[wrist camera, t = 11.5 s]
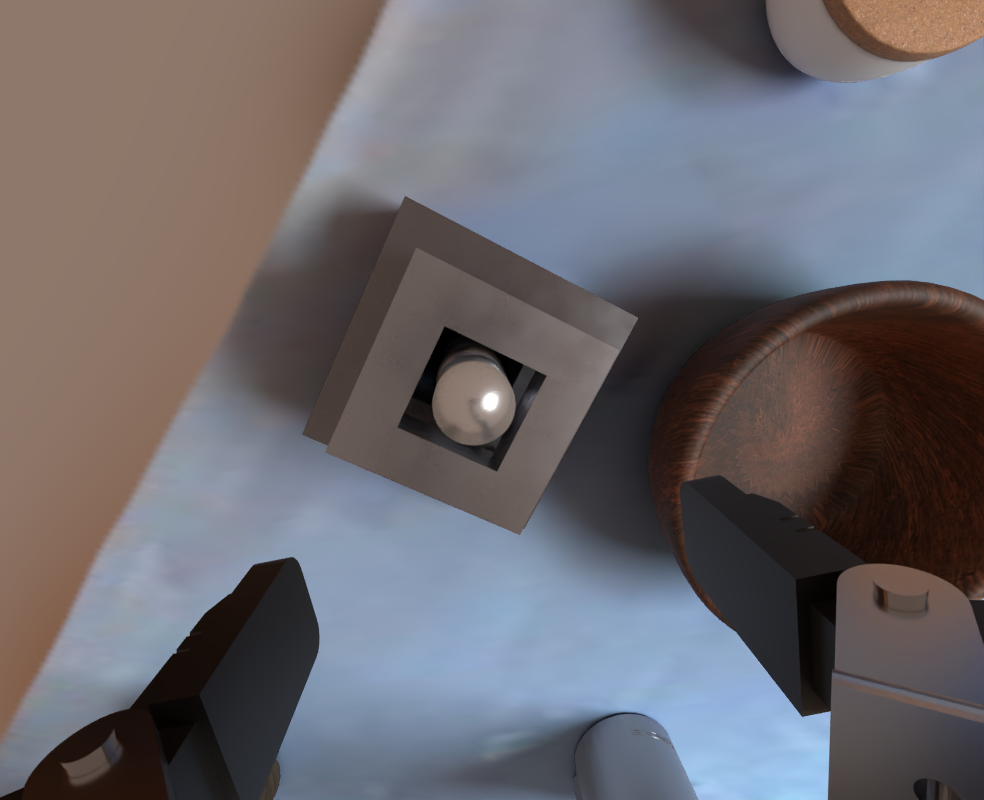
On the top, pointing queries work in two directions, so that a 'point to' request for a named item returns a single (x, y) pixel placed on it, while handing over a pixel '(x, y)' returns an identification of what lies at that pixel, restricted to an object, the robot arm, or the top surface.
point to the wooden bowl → (842, 424)
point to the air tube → (472, 394)
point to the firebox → (483, 318)
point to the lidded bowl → (870, 34)
